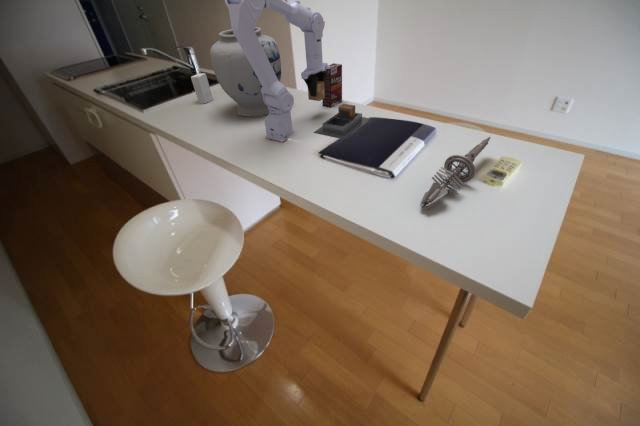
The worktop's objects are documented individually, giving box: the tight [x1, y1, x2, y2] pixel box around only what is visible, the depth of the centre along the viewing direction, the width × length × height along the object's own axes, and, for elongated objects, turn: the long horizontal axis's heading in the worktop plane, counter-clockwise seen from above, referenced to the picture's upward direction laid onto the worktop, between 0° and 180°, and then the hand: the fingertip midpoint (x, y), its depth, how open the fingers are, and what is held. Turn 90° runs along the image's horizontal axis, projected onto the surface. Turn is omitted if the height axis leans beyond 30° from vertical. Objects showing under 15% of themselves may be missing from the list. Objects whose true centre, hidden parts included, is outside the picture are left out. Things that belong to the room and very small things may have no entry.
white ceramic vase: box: [209, 26, 282, 118], centre depth 117 cm, size 27×27×30 cm
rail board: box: [313, 112, 371, 140], centre depth 105 cm, size 20×13×4 cm, turn 147°
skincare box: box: [190, 73, 214, 104], centre depth 135 cm, size 6×4×12 cm
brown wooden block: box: [337, 103, 356, 120], centre depth 105 cm, size 4×5×6 cm
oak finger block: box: [307, 81, 325, 102], centre depth 108 cm, size 4×5×6 cm
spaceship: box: [419, 136, 492, 210], centre depth 73 cm, size 8×35×8 cm
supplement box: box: [322, 63, 343, 109], centre depth 119 cm, size 9×5×16 cm, turn 143°
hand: (316, 94), depth 108 cm, fingers closed on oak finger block, 4 cm apart
